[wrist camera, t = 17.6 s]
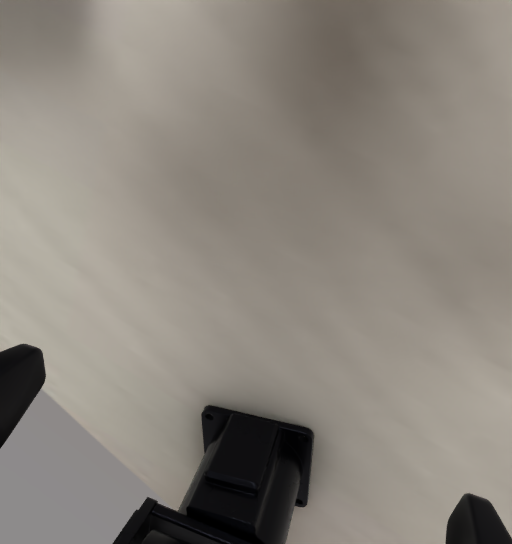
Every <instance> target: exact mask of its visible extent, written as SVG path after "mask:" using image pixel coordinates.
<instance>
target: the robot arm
mask: <svg viewBox="0 0 512 544" xmlns="http://www.w3.org/2000/svg"><path fill="white" fill-rule="evenodd" d="M45 377H46V373H45V366H44V359H43V353H42V351H41V349H39V348H37V347H34V346H31V345H28V344H20V345H17V346H14V347H12V348H9V349H7V350H4V351H2V352H0V448H1V447H2V445H3V444H4V443H5V441H6V440H7V438H8V437H9V436H10V434H11V433H12V431H13V430H14V428H15V427H16V425H17V424H18V422H19V421H20V419H21V418H22V416H23V415H24V413H25V412H26V410H27V409H28V407H29V406H30V404H31V403H32V401H33V400H34V398H35V397H36V395H37V394H38V392H39V391H40V389H41V388H42V386H43V384H44V382H45ZM202 428H203V440H204V452H205V455H204V457H203V459H202V461H201V463H200V465H199V467H198V470H197V472H196V474H195V476H194V478H193V480H192V482H191V484H190V487H189V489H188V491H187V493H186V495H185V497H184V499H183V501H182V504H181V506H180V508H179V510H178V511H175V510H173V509H170V508H168V507H165V506H163V505H161V504H158V501H156V500H154V499H151V498H149V497H147V499H146V500H145V501H144V503H143V504H142V506H141V507H140V509H139V510H136V511H135V512H134V513H133V515H132V517H131V518H130V519H129V521H128V522H127V524H126V525H125V527H124V528H123V529H122V531H121V532H120V534H119V535H118V537H117V538H116V540H115V541H114V543H113V544H285V543H286V539H287V535H288V531H289V527H290V523H291V519H292V515H293V511H294V507H295V506H298V507H305V506H306V505H307V502H308V496H309V484H310V473H311V462H312V450H313V439H314V434H313V432H312V431H311V430H310V429H309V428H306V427H302V426H298V425H293V424H289V423H284V422H280V421H276V420H271V419H267V418H263V417H258V416H254V415H250V414H245V413H241V412H237V411H232V410H228V409H223V408H219V407H215V406H206V407H205V408H204V410H203V412H202ZM304 436H305V437H304ZM446 544H512V538H511V537H510V535H509V533H508V531H507V530H506V528H505V526H504V524H503V523H502V521H501V519H500V517H499V516H498V514H497V512H496V510H495V509H494V507H493V505H492V504H491V503H490V502H489V501H488V500H487V499H485V498H482V497H479V496H476V495H473V494H470V493H467V494H464V495H463V497H462V498H461V500H460V501H459V503H458V504H457V506H456V507H455V509H454V511H453V512H452V514H451V515H450V517H449V520H448V524H447V531H446Z"/></svg>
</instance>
